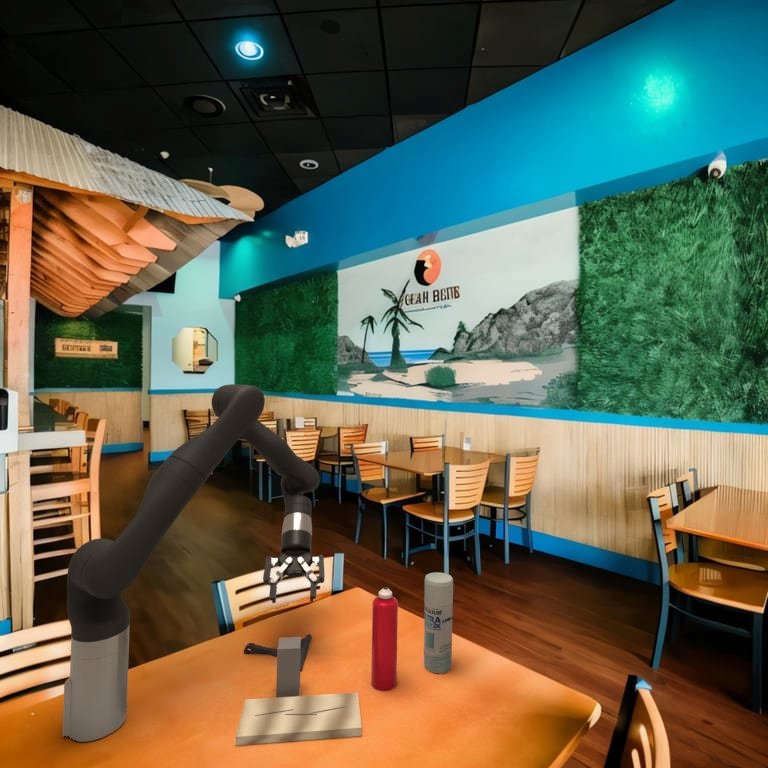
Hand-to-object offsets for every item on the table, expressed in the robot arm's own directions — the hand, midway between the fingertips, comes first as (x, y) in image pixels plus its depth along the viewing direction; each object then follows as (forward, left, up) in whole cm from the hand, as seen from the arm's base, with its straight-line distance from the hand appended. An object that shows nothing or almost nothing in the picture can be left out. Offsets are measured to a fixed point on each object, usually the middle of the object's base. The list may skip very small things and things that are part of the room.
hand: (292, 601), depth 106 cm
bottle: (+20, -9, -14) cm, 26 cm away
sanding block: (0, -10, -14) cm, 17 cm away
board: (+3, -19, -14) cm, 24 cm away
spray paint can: (+33, -4, -14) cm, 36 cm away
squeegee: (-4, +5, -15) cm, 16 cm away
